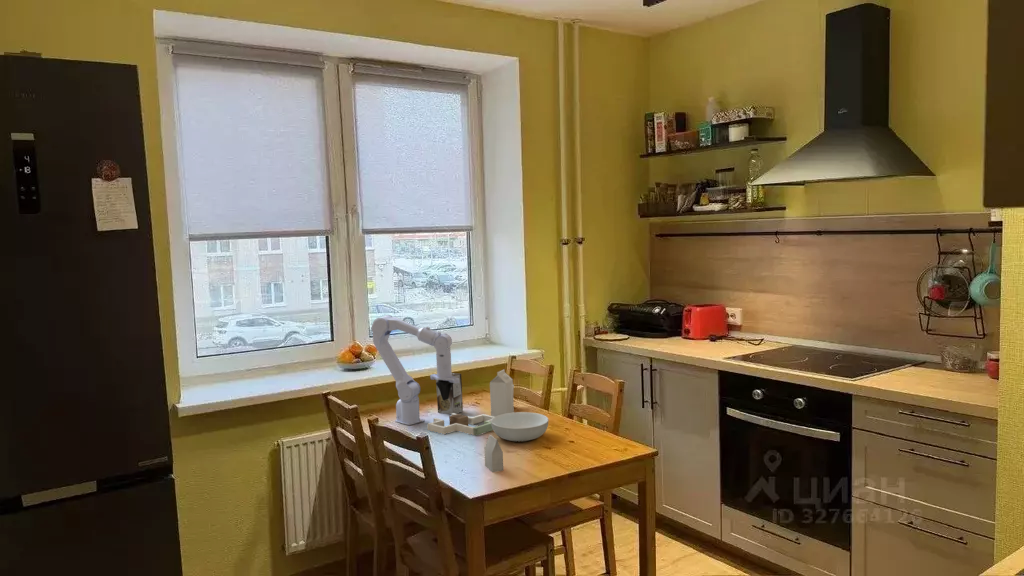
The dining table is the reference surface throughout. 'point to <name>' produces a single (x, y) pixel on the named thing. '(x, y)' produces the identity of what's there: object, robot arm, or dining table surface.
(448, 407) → the coffee box
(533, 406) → the dining table surface
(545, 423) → the serving bowl
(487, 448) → the gray house block
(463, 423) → the walnut block
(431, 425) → the trap channel
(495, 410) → the milk carton
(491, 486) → the dining table surface
